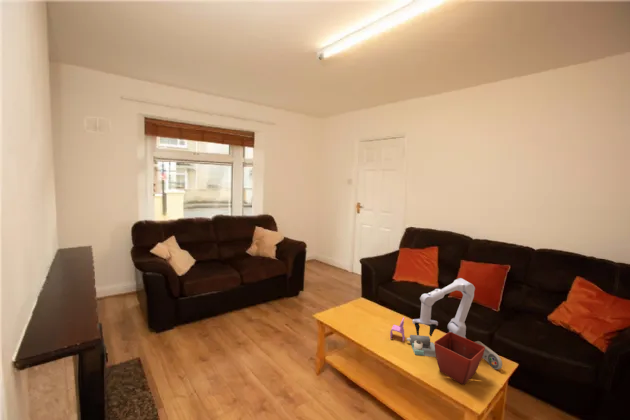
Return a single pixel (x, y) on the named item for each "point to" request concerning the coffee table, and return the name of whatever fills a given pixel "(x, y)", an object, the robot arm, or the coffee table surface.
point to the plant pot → (458, 356)
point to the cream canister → (418, 345)
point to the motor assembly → (427, 347)
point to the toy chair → (398, 329)
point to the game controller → (491, 357)
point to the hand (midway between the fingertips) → (424, 335)
